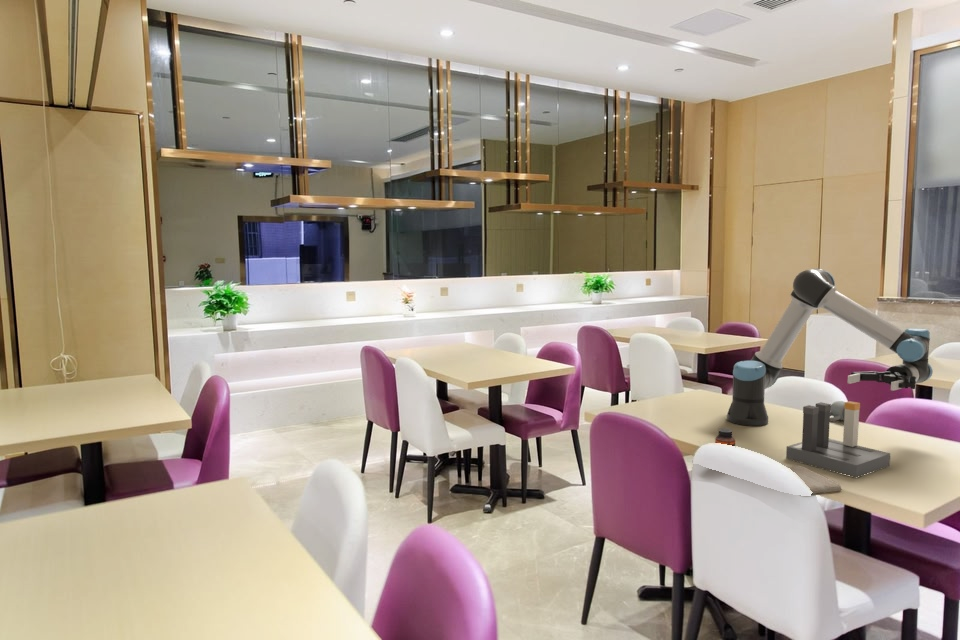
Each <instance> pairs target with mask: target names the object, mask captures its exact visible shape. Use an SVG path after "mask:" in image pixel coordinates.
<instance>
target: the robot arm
mask: <svg viewBox="0 0 960 640" xmlns="http://www.w3.org/2000/svg"><path fill="white" fill-rule="evenodd" d="M835 285H836V281H835V279H834V276H833V275H832V274H831V273H830V272H829V271H827V270H824V269H822V268H812V269H805V270H803V271H801V272H799V273H798V274H797V275H796V276H795V278H794V280H793V283H792V288H793V290H792V291H791V293H790V297H791V298H790V299H791V301H790V302H789V304H788V306H787V308H786V309H785V311H784V312H783V315H782V316H781V317H780V319H779V321H778V323H776V326H775V327H774V329H773V330H772V332H771V334H770V335H769V338H767V340H766V342H765V344H764V345H763V347H762V349H761V350H759V351H756V352H755V353H754V354H753V356H752V358H751V359H750V360H741V361H737V362H736V363H735V364H734V365H733V369H732V375H733V376H732V397H731V398H732V401H731V403H730V406H729V408H728V411H727V415H726V420H727V422H730V423H733V424H736V425H741V426H748V427H750V426H752V427H759V426H766V425H768V424H769V415H768V411H767V408H766V405H765V395H766V394H765V390H766V389H769V388H771V387H773V386H774V384H775V383H776V382H777V380H778V378H779V376H780V375H779V374H780V372H781V370H782V369H783V367H784V365H783V362H782V361H783V360H784V359H785V356H786V355H787V353H788V352H789V351H790V348H792V345H793V344H794V342H795V341H796V340H797V338H798V336H799V334H801V333H800V332H801V331H802V329H803V328H804V326H805V325H806V323H807V322H808V320H809V319H810V317H811V315H812V313H813V312H814V311H816V310H820V309H824V310H825V311H827V312H828V313H830V314H832V315H834V316H835V317H837V318H839V319H840V320H842V322H845V323H846V324H849V325H850V326H852V327H853V328H854V329H856V330H859V331H860V332H862V333H863V334H865V335H867V337H869V338H870V339H873V340H874V341H875V342H877V343H879V344H881V345H882V346H884V347H886V348H888V349H889V350H890V351H892V352H893V353H895V354H897V355H898V357H899V359H901V360H902V363H901V364H898V365H892V366H890V367H888V368H887V369H886V370H885V371H877V370H873V371H872V370H871V371H850V375H849V374H848V375H847V384H848V385H850V384H854V383H858V382H859V383H860V382H863V381H864V382H865V381H866V382H868V381H869V382H870V381H871V382H876V383H885V384H888V385H889V386H890V391H892V392H893V391H897V390H902V389H909V388H910V389H911V390H916V385H917V384H921V383H923V382H926V381H928V380H929V379H930V378H932V376H933V370H934V369H933V368H932V366H931V364H930V363H929V352H930V351H929V350H930V341H931V337H930V335H931V334H930V330H928V329H924V328H906V329H904V330H903V329H901V328H899V327H898V326H896V325H894V324H893V323H891V322H889V321H888V320H886V319H884V318H883V317H881V316H880V315H878V314H876V313H875V312H872V311H871V310H869V309H868V308H867V307H864V306H862V305H861V304H859V303H858V302H856V301H854V300H852V299H851V298H849V297H848V296H846V295H844V294H842V293H841V292H840V291H838V290H837V286H835Z"/></svg>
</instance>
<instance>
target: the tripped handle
mask: <svg viewBox="0 0 960 640" xmlns="http://www.w3.org/2000/svg"><path fill="white" fill-rule="evenodd" d="M844 402H845V407H844V409H845V416H844V421H843V433H842V434H843V438H842V442H843V445H847V446H851V447H854V446H857V445H858V440H859V439H858V437H859V419H860V409H861V403H860V402H856V401H850V400H849V401H844Z"/></svg>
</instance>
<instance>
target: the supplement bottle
mask: <svg viewBox="0 0 960 640" xmlns="http://www.w3.org/2000/svg"><path fill="white" fill-rule="evenodd" d="M714 439H715V440H714V444H715V443H721V444H727V445H732V446H735V447H736V438H735V437H734V436H733V430H732V429H730V428H719V429H718V435H716V436H715V438H714Z"/></svg>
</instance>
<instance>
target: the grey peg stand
mask: <svg viewBox="0 0 960 640" xmlns="http://www.w3.org/2000/svg"><path fill="white" fill-rule="evenodd" d="M831 405H832V404H831V403H828V402H823V401H822V402H821V401H820V402H817V403H815V406H814V405H809V404H808V405H804V406H803V407H802V408H803V409H802V413H803V414H802V415H803V417H802V418H803V419H802V437H801V441H800V442H798V443H794V444H791V445H788V446H786V451H785V453H786V456H785V459H787V460H791V461H793V460H794V462H797V461H798V462H797V463H800V462H801V464H804V463H805V464H804V465H807V464H808V466H811V465H812V466H811V467H814V466H816V467H815V468H818V467H819V469H821V468H823V469H822V470H825V469H827V470H826V471H828V470H831V471H830V472H832V471H835V472H838V473H837V474H839V473H842V474H846V475H850V476H853V477H858V476H861V475H864V474H866V475H868V474H867V473H869V474H871V473H870V472H872V473H874V472H877V471H879V470H878V469H880V470H882V469H885V468H887V466H888V467H890V465H891V452H885V451H884V450H883V451H881V450H879V449H873V448H870V447H866V446H861V445H858V444H857V446H854V447H851V446H847V445H843V441H841V440H836V439H832V438H829V437H830V422H831V421H830V418H831V416H830V410H831ZM884 467H885V468H884ZM881 468H882V469H881ZM876 470H877V471H876ZM873 471H874V472H873ZM835 472H834V473H835ZM842 474H841V475H842ZM846 475H845V476H846ZM864 476H865V475H864ZM853 477H852V478H853ZM861 477H862V476H861ZM858 478H859V477H858Z"/></svg>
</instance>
